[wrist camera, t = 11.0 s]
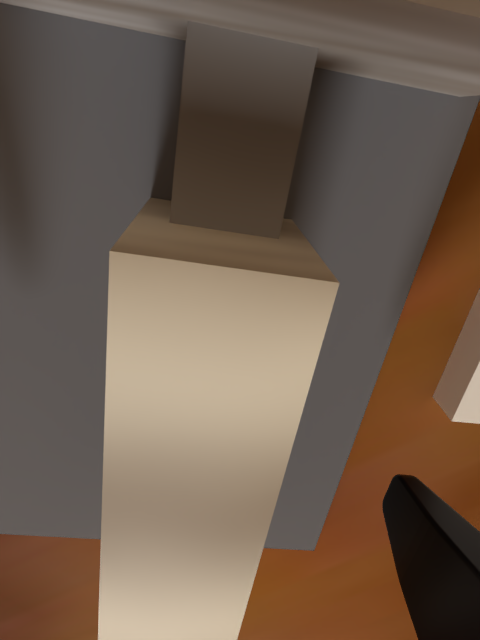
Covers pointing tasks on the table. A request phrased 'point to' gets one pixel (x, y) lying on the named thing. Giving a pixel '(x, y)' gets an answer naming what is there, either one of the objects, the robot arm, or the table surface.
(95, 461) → the tool mat
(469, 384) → the tile
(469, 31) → the cream saddle block
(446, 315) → the table surface
